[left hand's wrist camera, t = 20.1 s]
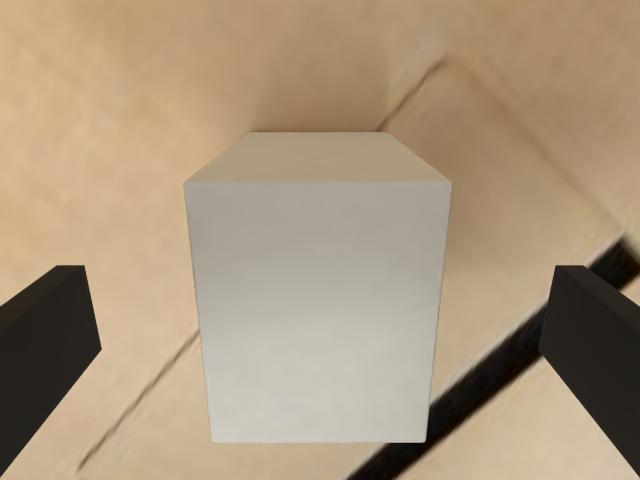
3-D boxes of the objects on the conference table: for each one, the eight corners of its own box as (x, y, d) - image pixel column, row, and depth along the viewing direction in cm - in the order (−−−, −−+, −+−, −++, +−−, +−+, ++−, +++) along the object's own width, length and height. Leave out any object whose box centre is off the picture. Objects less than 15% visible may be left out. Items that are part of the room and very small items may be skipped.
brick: (388, 131, 20) (454, 181, 10) (380, 287, 23) (425, 443, 13) (248, 131, 20) (182, 181, 10) (256, 288, 23) (210, 444, 13)
